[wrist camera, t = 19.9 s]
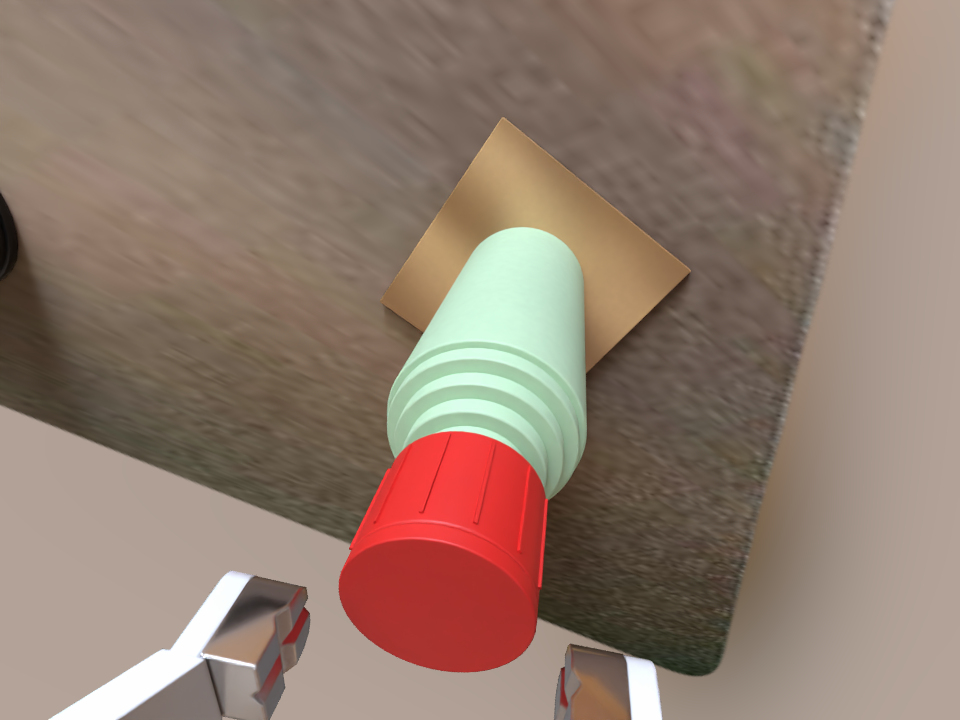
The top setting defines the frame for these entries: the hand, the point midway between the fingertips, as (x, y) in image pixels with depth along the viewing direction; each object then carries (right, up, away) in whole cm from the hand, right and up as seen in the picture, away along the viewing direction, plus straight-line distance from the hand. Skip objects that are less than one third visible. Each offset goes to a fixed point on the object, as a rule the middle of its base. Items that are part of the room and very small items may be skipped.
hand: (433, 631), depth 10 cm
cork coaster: (+3, +9, +16) cm, 19 cm away
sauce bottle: (+3, +9, +16) cm, 18 cm away
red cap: (+1, +2, +3) cm, 4 cm away
